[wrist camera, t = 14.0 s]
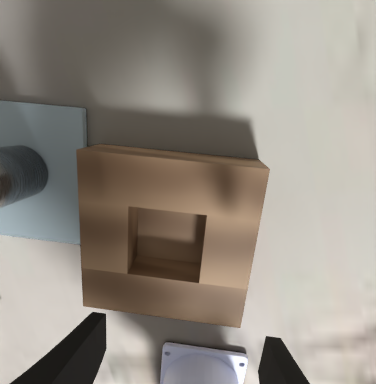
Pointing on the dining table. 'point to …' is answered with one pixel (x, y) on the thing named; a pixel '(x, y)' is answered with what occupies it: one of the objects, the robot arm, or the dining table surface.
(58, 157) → the rubber mat
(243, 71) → the dining table surface
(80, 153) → the block
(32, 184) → the steel key peg
